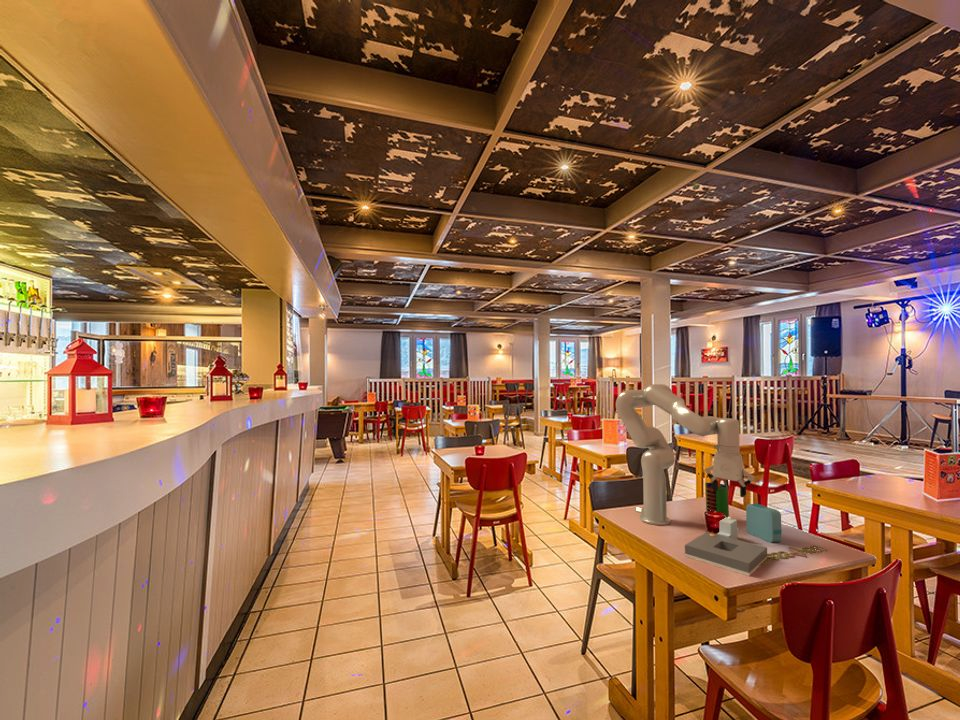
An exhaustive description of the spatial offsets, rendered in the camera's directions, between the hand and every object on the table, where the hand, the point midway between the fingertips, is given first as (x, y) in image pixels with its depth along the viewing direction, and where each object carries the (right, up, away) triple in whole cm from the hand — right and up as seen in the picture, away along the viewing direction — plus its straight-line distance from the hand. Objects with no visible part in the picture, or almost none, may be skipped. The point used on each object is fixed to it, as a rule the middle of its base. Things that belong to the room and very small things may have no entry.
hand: (728, 493), depth 166 cm
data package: (+16, -19, +3) cm, 25 cm away
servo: (0, -18, -1) cm, 18 cm away
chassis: (-11, -18, -16) cm, 26 cm away
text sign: (+12, -18, -14) cm, 26 cm away
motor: (+9, -20, +24) cm, 32 cm away
